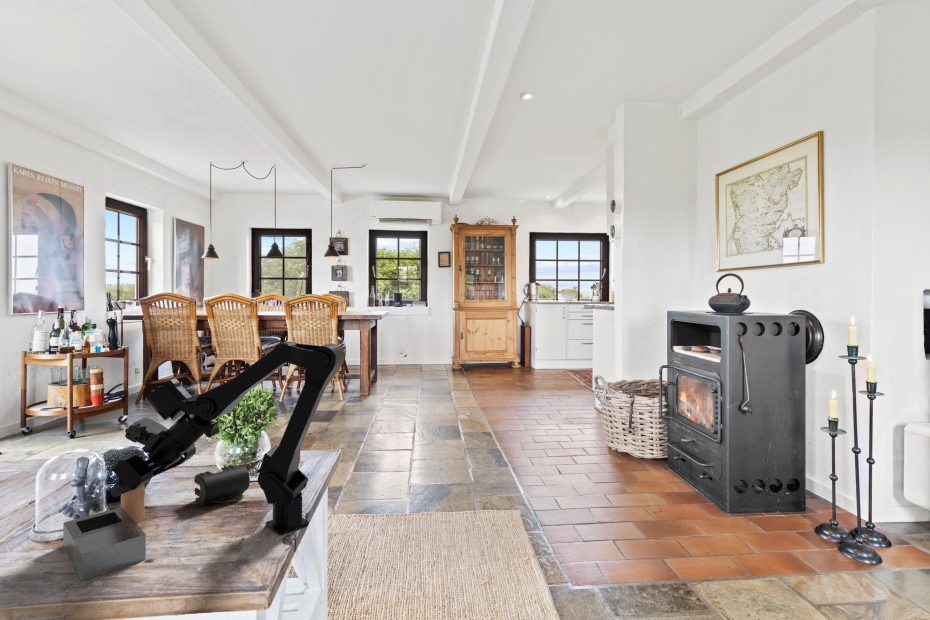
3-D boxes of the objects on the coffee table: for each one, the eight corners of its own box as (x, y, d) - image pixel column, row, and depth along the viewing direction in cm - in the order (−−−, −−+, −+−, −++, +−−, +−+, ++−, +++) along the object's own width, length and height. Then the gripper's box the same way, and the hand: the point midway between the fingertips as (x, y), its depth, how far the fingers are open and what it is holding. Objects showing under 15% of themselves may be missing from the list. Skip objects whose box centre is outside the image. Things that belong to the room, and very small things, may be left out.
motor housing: (145, 559, 84) (145, 534, 84) (81, 581, 77) (81, 554, 77) (121, 529, 94) (121, 507, 94) (63, 546, 87) (63, 522, 87)
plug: (146, 520, 98) (147, 461, 98) (123, 527, 95) (124, 466, 95) (141, 514, 101) (141, 457, 100) (118, 521, 98) (118, 461, 97)
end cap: (205, 510, 103) (206, 480, 103) (192, 501, 108) (192, 472, 107) (250, 496, 111) (250, 468, 111) (235, 488, 115) (236, 461, 115)
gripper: (183, 397, 106) (135, 444, 107) (122, 418, 88) (64, 474, 88) (217, 433, 106) (168, 479, 107) (162, 461, 88) (104, 517, 88)
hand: (129, 485), depth 98 cm, fingers open, 9 cm apart
